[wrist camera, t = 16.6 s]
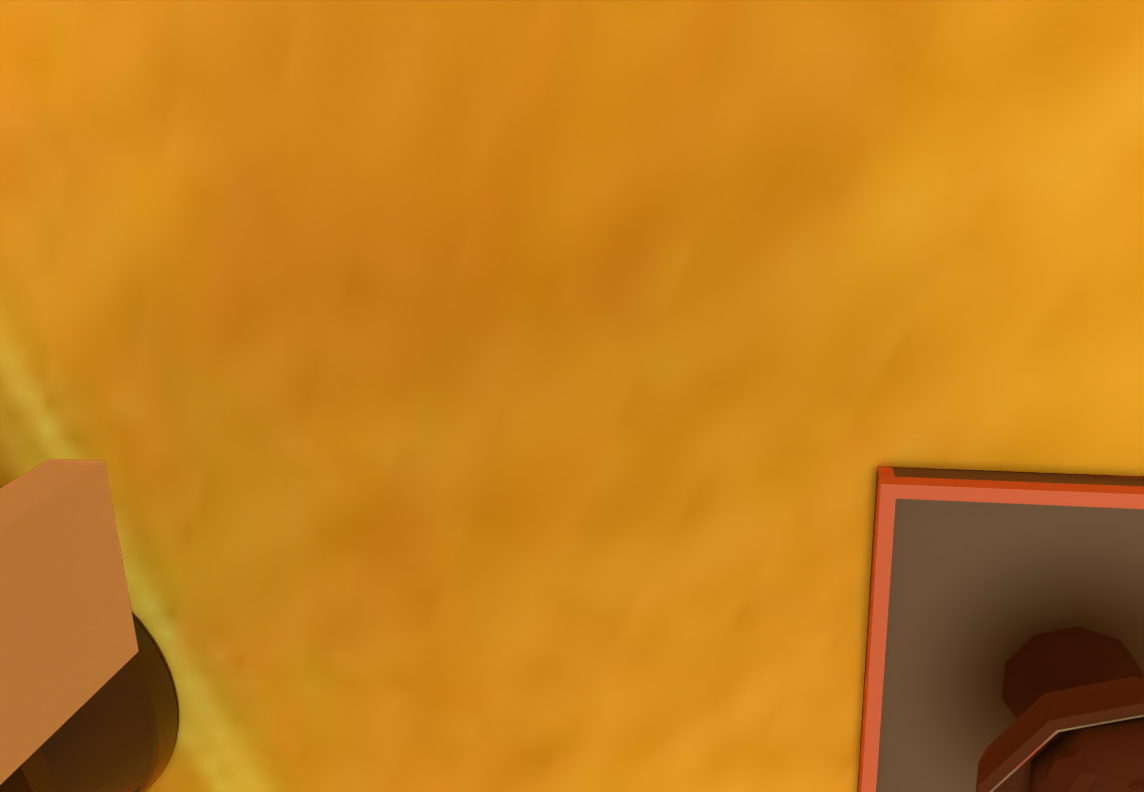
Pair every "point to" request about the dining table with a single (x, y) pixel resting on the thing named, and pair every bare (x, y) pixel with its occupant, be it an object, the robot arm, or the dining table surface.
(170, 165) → the dining table surface
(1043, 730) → the ice cream bowl
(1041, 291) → the dining table surface
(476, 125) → the dining table surface
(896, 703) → the serving tray
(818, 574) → the dining table surface
